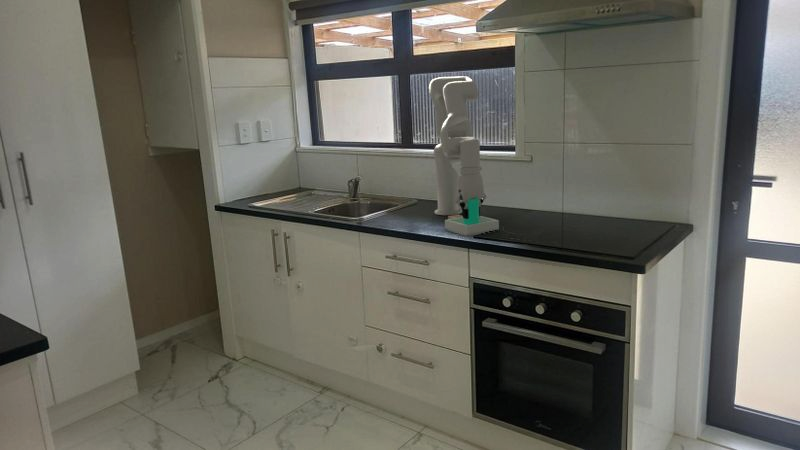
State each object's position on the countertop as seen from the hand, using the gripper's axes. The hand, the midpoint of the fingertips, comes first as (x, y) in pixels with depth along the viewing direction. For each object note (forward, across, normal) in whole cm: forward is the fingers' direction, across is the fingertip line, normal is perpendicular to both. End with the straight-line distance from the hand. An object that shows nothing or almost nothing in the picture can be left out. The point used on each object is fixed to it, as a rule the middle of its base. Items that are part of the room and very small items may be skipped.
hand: (471, 216), depth 229 cm
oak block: (+5, 0, -11) cm, 12 cm away
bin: (+5, 0, 0) cm, 5 cm away
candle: (+3, 0, 0) cm, 3 cm away
